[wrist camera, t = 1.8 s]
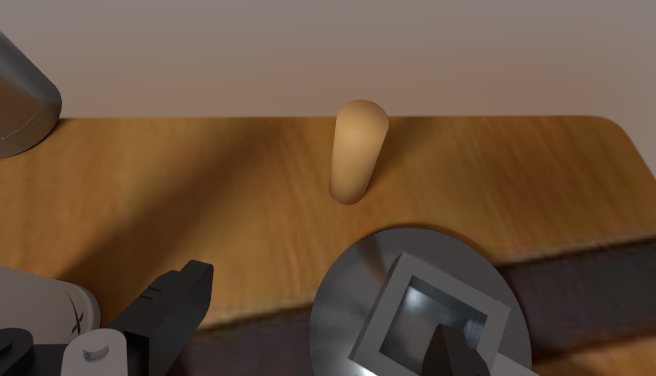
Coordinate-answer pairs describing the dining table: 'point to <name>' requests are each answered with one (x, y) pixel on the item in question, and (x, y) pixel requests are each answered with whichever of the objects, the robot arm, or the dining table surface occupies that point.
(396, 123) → the dining table surface
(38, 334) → the travel mug
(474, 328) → the grey handled frame
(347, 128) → the wedge pin
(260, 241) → the dining table surface
